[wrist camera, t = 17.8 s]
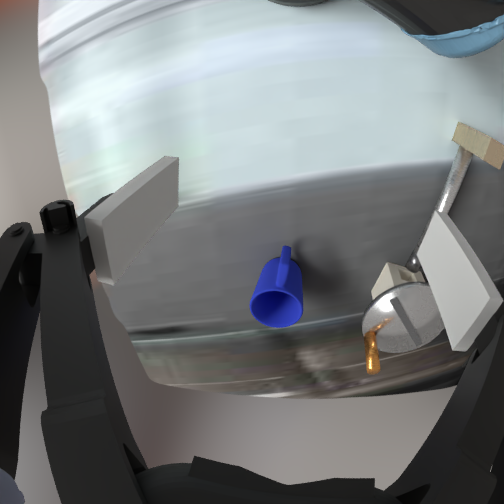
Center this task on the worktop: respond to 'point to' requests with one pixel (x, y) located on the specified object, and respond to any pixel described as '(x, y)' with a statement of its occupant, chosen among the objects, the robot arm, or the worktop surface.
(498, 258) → the worktop surface
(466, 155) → the hook rod
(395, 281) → the eye block
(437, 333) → the handwheel
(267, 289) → the mug
